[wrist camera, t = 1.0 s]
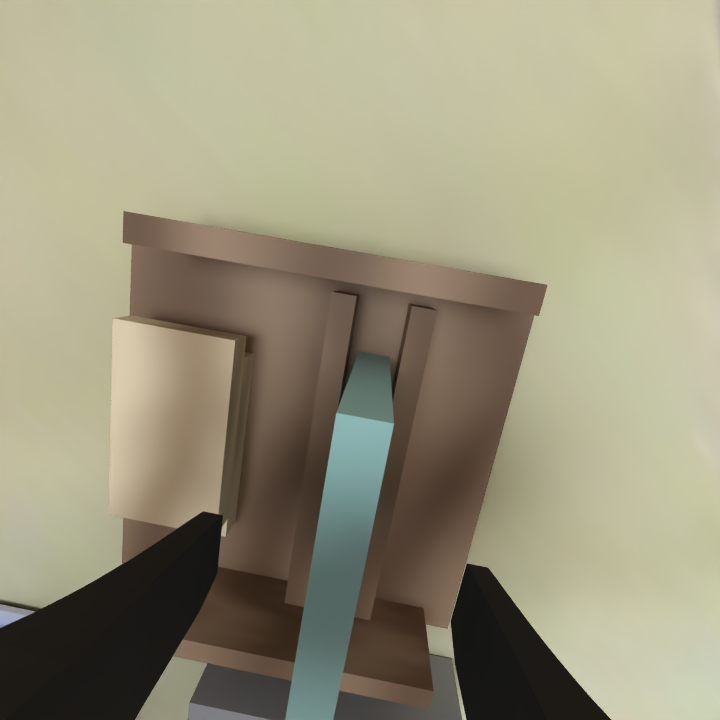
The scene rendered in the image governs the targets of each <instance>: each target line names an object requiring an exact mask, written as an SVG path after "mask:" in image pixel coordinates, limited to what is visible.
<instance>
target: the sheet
mask: <svg viewBox="0 0 720 720" xmlns="http://www.w3.org/2000/svg"><path fill="white" fill-rule="evenodd" d="M393 426H394V416H393V401H392V387H391V373H390V359H389V356H383V355H378V354H372V353H367V352H361V351H359V353H358V355H357V358H356V361H355V364H354V366H353V369H352V372H351V374H350V377H349V380H348V383H347V385H346V388H345V391H344V394H343V396H342V399H341V402H340V404H339V407H338V410H337V413H336V418H335V424H334V430H333V436H332V442H331V448H330V454H329V460H328V466H327V472H326V478H325V484H324V490H323V496H322V502H321V508H320V514H319V520H318V526H317V532H316V538H315V544H314V550H313V556H312V562H311V568H310V574H309V580H308V586H307V592H306V598H305V604H304V610H303V616H302V622H301V628H300V634H299V640H298V646H297V652H296V658H295V664H294V670H293V676H292V682H291V688H290V694H289V700H288V706H287V712H286V718H285V720H333V719H334V714H335V709H336V704H337V699H338V694H339V689H340V685H341V680H342V675H343V670H344V665H345V660H346V655H347V650H348V646H349V641H350V636H351V631H352V626H353V621H354V616H355V612H356V607H357V602H358V597H359V592H360V587H361V582H362V577H363V573H364V568H365V563H366V558H367V553H368V548H369V543H370V538H371V534H372V529H373V524H374V519H375V514H376V509H377V504H378V500H379V495H380V490H381V485H382V480H383V475H384V470H385V465H386V461H387V456H388V451H389V446H390V441H391V436H392V431H393Z"/></svg>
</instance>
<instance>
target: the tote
mask: <svg viewBox="0 0 720 720" xmlns="http://www.w3.org/2000/svg"><path fill="white" fill-rule="evenodd" d="M429 657H430V665H431V673H432V681H433V690H434V692H433V696H432V699H431V703H430V706H429V709H425V708H421V707H416V706H411V705H406V704H401V703H397V702H392V701H387V700H382V699H377V698H373V697H368V696H363V695H358V694H353V693H349V692H344V691H339V694H338V699H337V704H336V709H335V714H334V719H333V720H462V716H461V711H460V705H459V700H458V694H457V688H456V683H455V677H454V672H453V666H452V660H451V659H450V658H445V657H440V656H435V655H430V654H429ZM291 682H292V681H291V680H286V679H281V678H276V677H272V676H267V675H262V674H257V673H252V672H248V671H243V670H238V669H233V668H228V667H224V666H219V665H214V664H209V663H208V664H207V666H206V668H205V670H204V672H203V675H202V677H201V679H200V681H199V683H198V685H197V688H196V690H195V692H194V694H193V696H192V698H191V700H190V703H189V714H188V720H285V718H286V712H287V706H288V700H289V694H290V688H291Z"/></svg>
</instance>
